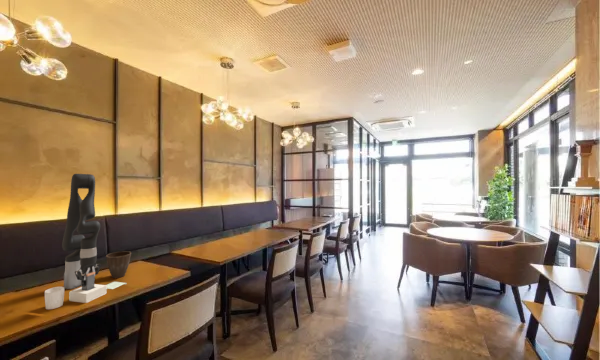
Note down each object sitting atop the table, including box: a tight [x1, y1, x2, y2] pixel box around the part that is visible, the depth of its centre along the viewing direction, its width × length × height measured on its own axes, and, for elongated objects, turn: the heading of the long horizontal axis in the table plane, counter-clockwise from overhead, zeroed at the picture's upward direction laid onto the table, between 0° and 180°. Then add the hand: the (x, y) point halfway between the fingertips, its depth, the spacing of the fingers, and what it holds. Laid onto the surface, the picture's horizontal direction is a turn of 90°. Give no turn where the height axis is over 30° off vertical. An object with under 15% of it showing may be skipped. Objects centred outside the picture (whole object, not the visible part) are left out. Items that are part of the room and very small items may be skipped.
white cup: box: [44, 286, 65, 310], centre depth 138 cm, size 8×8×10 cm
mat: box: [106, 281, 127, 290], centre depth 166 cm, size 10×10×1 cm
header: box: [68, 283, 108, 304], centre depth 149 cm, size 12×12×6 cm
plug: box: [81, 272, 95, 291], centre depth 150 cm, size 5×5×13 cm
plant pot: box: [105, 250, 132, 279], centre depth 184 cm, size 15×15×16 cm
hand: (88, 284), depth 150 cm, fingers closed on plug, 4 cm apart
